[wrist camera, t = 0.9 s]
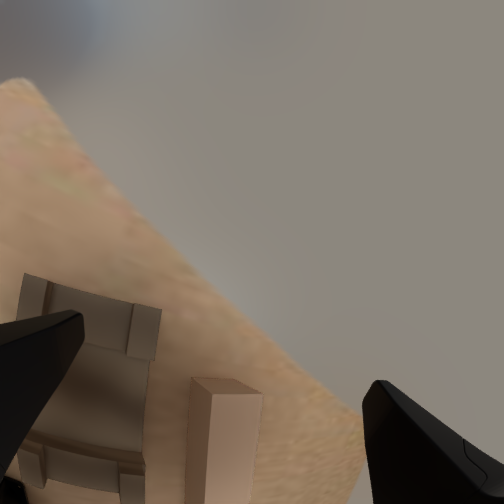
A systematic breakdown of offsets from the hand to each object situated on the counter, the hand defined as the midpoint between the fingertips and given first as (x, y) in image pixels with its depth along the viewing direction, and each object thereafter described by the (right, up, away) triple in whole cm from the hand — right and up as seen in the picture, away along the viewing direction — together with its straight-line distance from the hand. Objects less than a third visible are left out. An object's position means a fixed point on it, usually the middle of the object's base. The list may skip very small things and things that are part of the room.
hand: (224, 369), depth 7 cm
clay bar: (-3, -13, +11) cm, 18 cm away
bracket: (-11, -7, +8) cm, 15 cm away
